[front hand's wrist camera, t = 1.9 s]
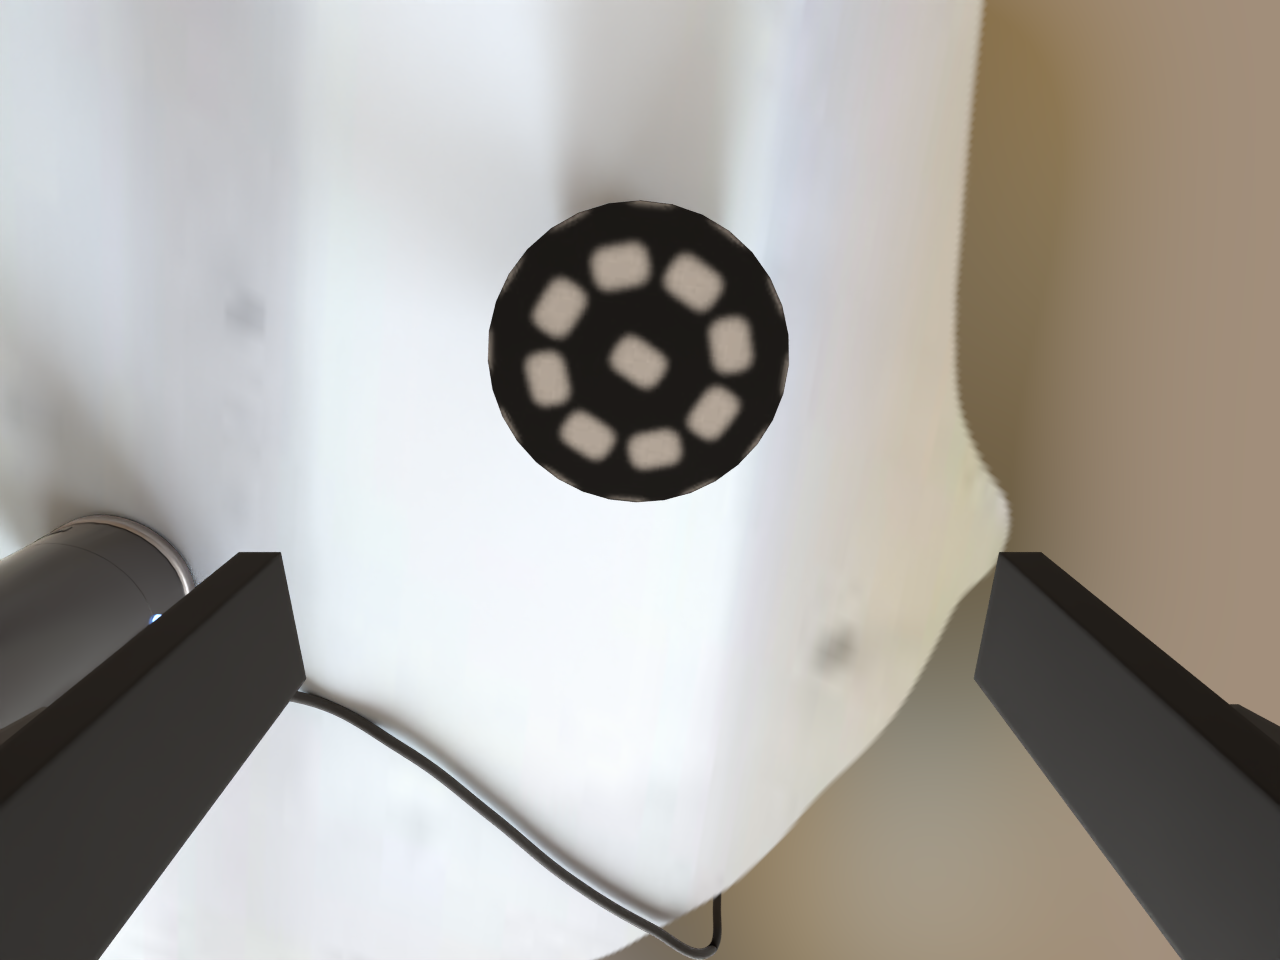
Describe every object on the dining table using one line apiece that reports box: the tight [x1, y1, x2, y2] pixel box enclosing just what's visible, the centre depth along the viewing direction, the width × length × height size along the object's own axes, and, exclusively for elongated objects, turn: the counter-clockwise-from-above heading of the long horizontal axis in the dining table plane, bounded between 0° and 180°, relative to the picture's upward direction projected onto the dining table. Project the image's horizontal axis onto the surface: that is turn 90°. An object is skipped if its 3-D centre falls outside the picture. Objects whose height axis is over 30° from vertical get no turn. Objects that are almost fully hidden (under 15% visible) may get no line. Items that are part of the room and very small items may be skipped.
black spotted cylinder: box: [488, 200, 789, 502], centre depth 28 cm, size 8×8×20 cm
